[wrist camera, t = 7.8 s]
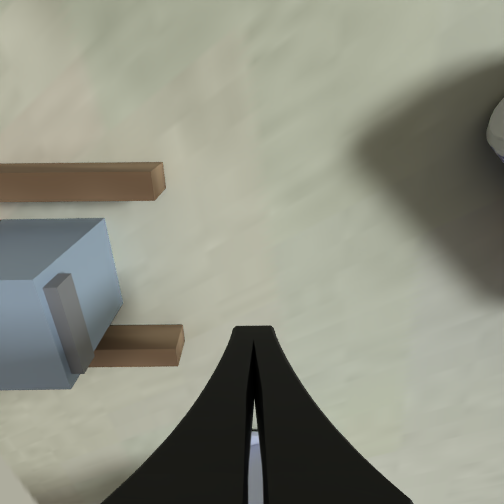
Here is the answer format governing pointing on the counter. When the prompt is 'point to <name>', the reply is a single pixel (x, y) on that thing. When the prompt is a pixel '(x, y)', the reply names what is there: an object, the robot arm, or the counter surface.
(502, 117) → the energy drink
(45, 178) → the bay
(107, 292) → the pale blue-grey cube
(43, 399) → the counter surface
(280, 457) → the robot arm
